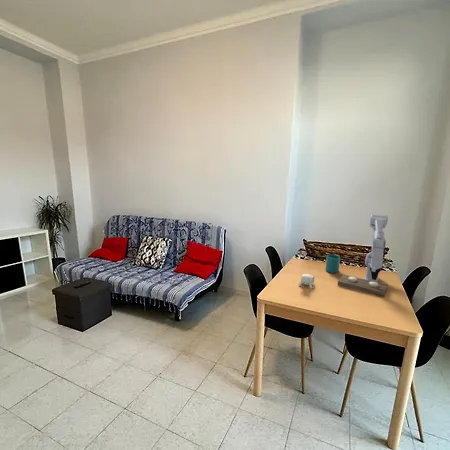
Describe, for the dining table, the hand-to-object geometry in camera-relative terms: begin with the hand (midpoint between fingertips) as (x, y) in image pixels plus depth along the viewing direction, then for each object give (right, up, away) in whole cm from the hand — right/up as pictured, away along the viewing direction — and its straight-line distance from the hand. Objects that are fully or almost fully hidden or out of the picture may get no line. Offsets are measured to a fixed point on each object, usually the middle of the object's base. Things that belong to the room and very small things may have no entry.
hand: (374, 279), depth 165 cm
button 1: (-9, -5, +9) cm, 14 cm away
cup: (-12, 0, +33) cm, 36 cm away
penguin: (-40, -6, +6) cm, 41 cm away
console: (-5, -6, +5) cm, 9 cm away
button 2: (0, -6, +1) cm, 7 cm away
